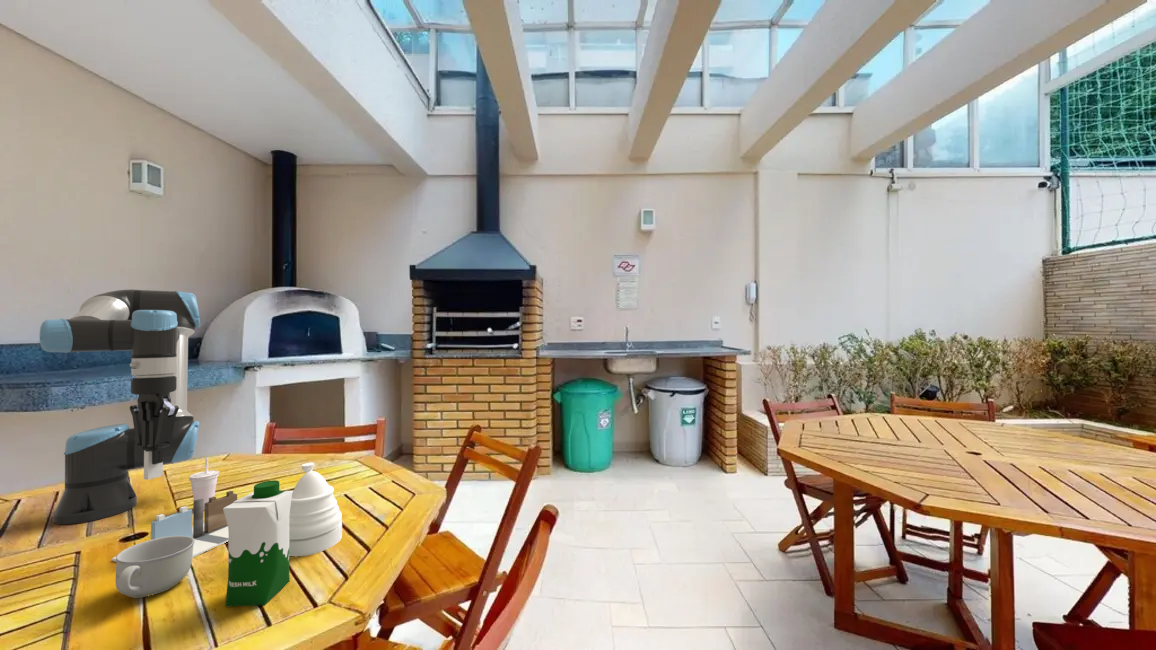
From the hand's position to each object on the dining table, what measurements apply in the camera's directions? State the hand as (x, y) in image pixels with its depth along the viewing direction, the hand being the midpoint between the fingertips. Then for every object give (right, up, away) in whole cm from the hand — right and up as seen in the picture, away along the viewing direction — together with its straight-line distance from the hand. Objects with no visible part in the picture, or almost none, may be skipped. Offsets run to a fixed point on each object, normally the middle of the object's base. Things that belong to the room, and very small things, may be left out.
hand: (153, 477), depth 97 cm
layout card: (+8, -16, +2) cm, 18 cm away
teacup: (+17, -16, -17) cm, 29 cm away
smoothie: (-7, -17, +21) cm, 28 cm away
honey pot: (+36, -16, +1) cm, 39 cm away
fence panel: (+6, -15, -1) cm, 16 cm away
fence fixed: (+8, -16, +7) cm, 19 cm away
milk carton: (+38, -16, -18) cm, 45 cm away
